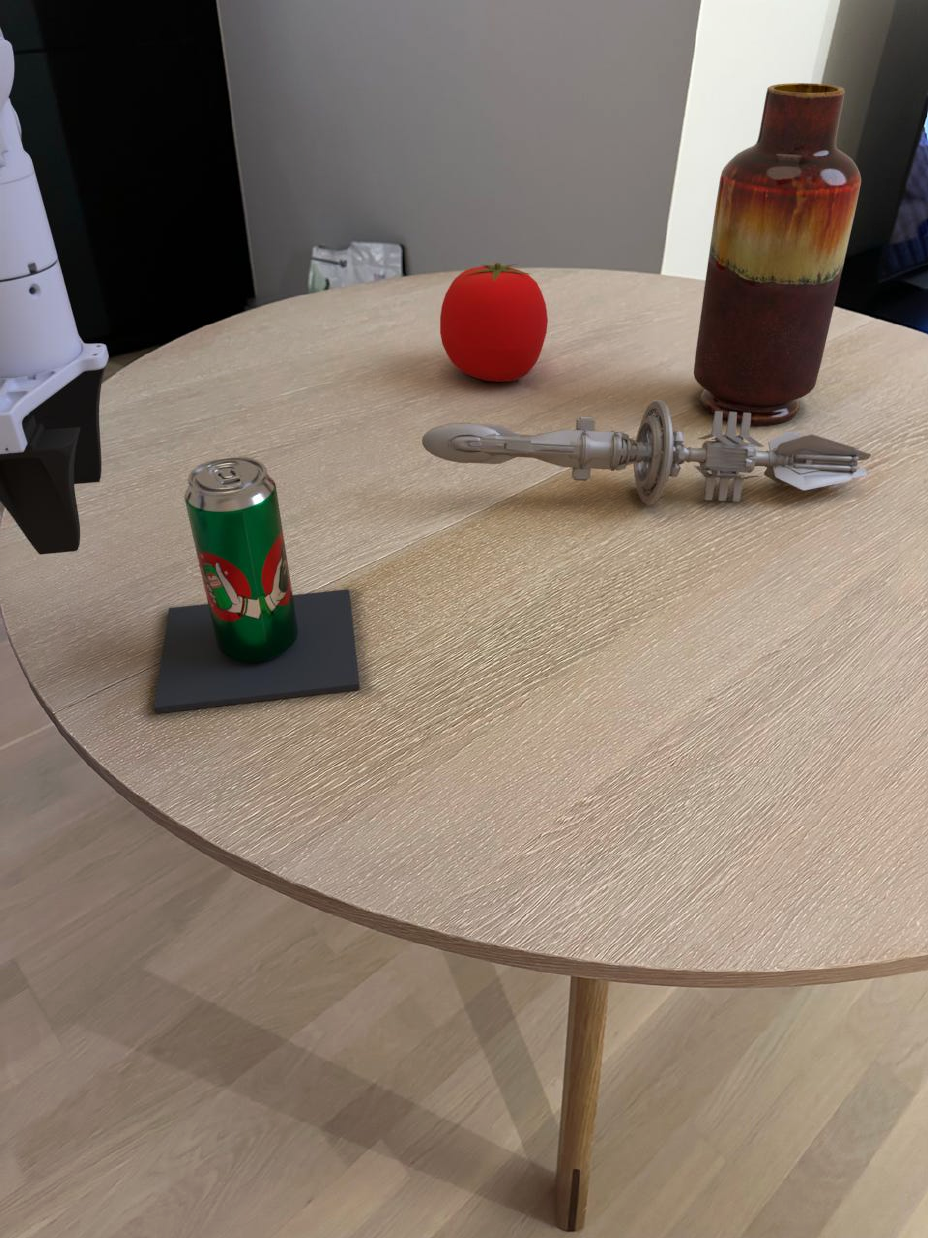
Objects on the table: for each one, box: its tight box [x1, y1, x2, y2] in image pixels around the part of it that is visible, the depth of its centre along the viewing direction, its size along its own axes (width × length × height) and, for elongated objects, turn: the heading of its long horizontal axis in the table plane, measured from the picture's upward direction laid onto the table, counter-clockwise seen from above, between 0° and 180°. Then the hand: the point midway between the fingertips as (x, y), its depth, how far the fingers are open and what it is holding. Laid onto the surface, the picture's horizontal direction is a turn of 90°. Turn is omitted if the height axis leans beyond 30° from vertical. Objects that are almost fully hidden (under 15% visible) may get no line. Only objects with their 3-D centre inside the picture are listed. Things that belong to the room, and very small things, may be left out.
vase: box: [693, 82, 862, 426], centre depth 79 cm, size 11×11×26 cm
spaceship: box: [421, 399, 872, 506], centre depth 71 cm, size 8×35×8 cm
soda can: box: [184, 456, 298, 664], centre depth 55 cm, size 5×5×12 cm
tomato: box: [439, 262, 549, 383], centre depth 91 cm, size 10×11×11 cm
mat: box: [153, 588, 361, 714], centre depth 59 cm, size 12×10×1 cm
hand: (71, 513), depth 52 cm, fingers open, 7 cm apart
